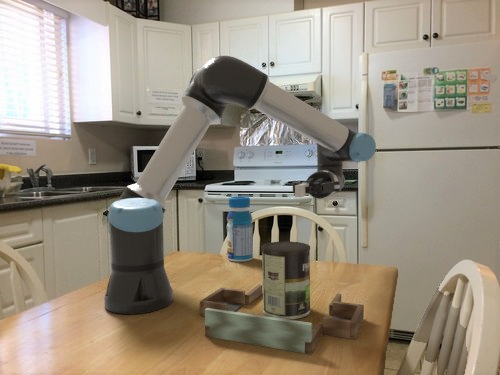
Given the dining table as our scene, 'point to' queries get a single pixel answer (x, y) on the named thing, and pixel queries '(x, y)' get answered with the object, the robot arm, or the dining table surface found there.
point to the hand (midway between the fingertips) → (298, 191)
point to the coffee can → (286, 279)
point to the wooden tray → (274, 322)
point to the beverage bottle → (239, 230)
